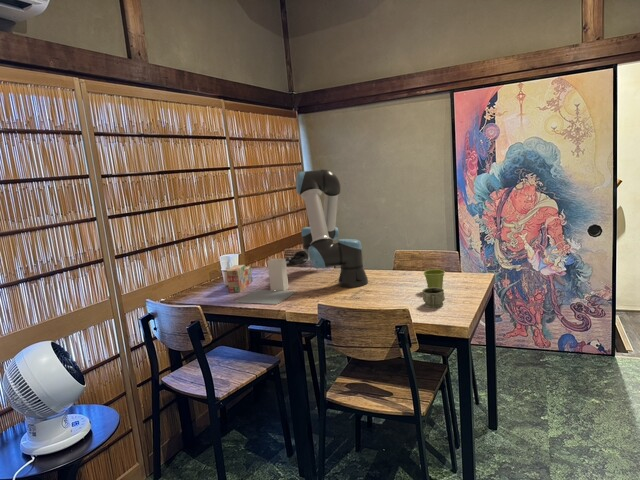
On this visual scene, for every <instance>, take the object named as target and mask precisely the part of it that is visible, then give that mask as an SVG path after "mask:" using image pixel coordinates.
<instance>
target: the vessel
mask: <svg viewBox="0 0 640 480" xmlns="http://www.w3.org/2000/svg"><path fill="white" fill-rule="evenodd" d="M444 290H445V289H444V288H443V287H442V288H437V287H430V288H428V287H426V288H423V289H422V301H423V302H424V306H425V307H427V308H431V309H432V308H439V307H442V306H444V305H445V304H444V301H445V299H446V297H445V291H444Z"/></svg>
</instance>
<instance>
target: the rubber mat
mask: <svg viewBox="0 0 640 480" xmlns="http://www.w3.org/2000/svg"><path fill="white" fill-rule="evenodd" d="M294 293H295V294H296V293H298V291H295V290H285V291H273V290H271V289H270V290H268V289H263V290H262V289H256V290H254V291H252V292H250V293H248V294H247V295H245V296H242V297H241V298H239V299H237V300H235V301H234V302H233V303H234V304H252V303H261V304H260V305H272V304H277V305H279V304H280V303H282V302H284V301H285V300H287V299H288V298H290V297H291V296H293V295H295V294H294ZM286 298H287V299H286ZM281 301H282V302H281ZM278 303H279V304H278Z"/></svg>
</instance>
